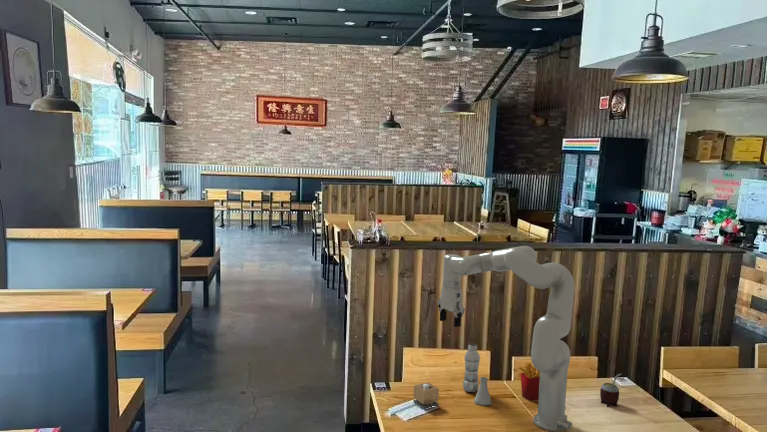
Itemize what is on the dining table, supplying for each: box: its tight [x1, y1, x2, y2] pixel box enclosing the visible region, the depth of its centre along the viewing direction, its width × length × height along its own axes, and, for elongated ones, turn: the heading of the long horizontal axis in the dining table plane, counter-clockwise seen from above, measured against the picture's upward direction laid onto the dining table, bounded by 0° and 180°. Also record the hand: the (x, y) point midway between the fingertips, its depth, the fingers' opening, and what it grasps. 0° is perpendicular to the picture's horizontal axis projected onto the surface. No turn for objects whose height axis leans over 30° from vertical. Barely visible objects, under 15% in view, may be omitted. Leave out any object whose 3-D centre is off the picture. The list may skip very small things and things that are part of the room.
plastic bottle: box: [462, 343, 481, 393], centre depth 223 cm, size 6×7×20 cm
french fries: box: [518, 360, 540, 402], centre depth 218 cm, size 9×8×15 cm
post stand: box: [412, 383, 439, 410], centre depth 208 cm, size 7×7×8 cm
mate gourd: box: [599, 373, 622, 408], centre depth 213 cm, size 8×8×15 cm
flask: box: [473, 376, 493, 406], centre depth 212 cm, size 7×7×10 cm
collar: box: [413, 382, 440, 404], centre depth 208 cm, size 7×7×5 cm
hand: (449, 323), depth 224 cm, fingers open, 9 cm apart
